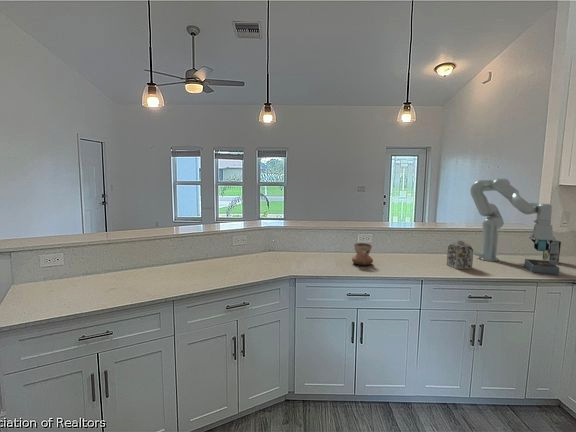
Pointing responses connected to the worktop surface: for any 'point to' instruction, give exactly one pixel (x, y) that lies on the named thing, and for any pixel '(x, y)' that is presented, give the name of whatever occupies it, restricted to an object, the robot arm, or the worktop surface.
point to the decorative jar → (460, 255)
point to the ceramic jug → (362, 254)
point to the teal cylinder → (541, 245)
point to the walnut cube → (542, 264)
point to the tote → (541, 267)
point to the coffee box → (552, 252)
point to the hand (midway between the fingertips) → (541, 249)
